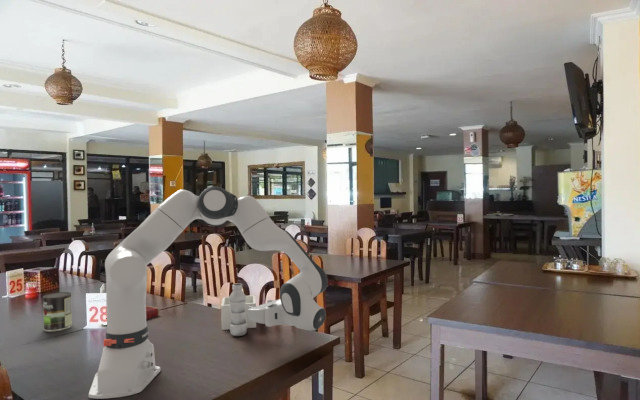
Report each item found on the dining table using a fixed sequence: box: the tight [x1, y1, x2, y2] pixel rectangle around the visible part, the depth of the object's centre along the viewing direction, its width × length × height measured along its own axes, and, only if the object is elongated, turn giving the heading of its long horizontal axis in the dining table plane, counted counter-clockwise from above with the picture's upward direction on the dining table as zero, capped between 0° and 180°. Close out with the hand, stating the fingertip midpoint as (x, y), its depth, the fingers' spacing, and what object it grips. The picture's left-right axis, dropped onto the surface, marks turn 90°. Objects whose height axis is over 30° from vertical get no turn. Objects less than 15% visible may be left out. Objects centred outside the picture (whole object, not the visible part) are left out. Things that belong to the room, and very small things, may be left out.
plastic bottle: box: [228, 283, 248, 337], centre depth 161 cm, size 6×7×20 cm
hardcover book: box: [106, 305, 160, 320], centre depth 184 cm, size 12×21×4 cm, turn 149°
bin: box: [220, 294, 257, 331], centre depth 175 cm, size 14×14×10 cm
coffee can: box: [42, 291, 73, 333], centre depth 175 cm, size 10×10×14 cm
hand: (259, 305), depth 153 cm, fingers open, 8 cm apart
